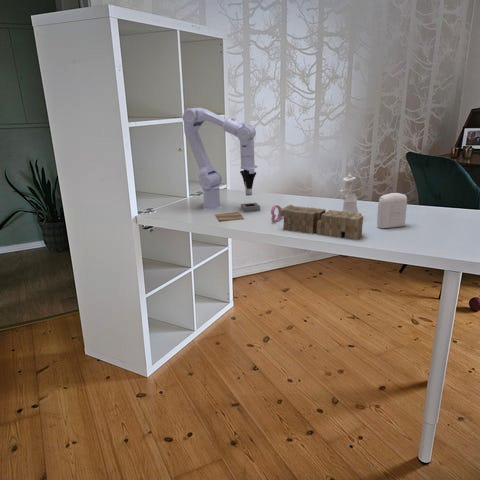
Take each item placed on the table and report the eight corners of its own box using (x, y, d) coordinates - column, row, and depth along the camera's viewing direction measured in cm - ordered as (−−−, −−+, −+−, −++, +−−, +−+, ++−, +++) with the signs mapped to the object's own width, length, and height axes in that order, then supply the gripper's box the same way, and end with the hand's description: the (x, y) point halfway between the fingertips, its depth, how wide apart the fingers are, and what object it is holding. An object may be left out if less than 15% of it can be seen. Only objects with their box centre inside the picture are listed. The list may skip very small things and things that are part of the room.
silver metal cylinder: (245, 194, 187) (244, 180, 185) (251, 193, 187) (250, 180, 185) (246, 195, 184) (245, 181, 182) (252, 195, 185) (252, 181, 183)
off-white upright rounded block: (400, 223, 161) (402, 190, 157) (406, 226, 157) (409, 193, 153) (375, 226, 159) (376, 193, 155) (381, 229, 155) (383, 195, 151)
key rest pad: (215, 216, 182) (215, 214, 181) (238, 214, 184) (238, 212, 183) (219, 222, 172) (219, 220, 172) (243, 220, 174) (243, 218, 174)
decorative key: (300, 219, 183) (272, 222, 168) (298, 218, 184) (269, 222, 169) (302, 203, 182) (274, 205, 167) (299, 203, 182) (271, 205, 168)
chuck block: (240, 209, 191) (240, 204, 190) (256, 208, 192) (256, 202, 192) (244, 213, 184) (244, 207, 184) (260, 211, 186) (260, 206, 185)
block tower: (363, 237, 152) (289, 224, 167) (366, 213, 149) (289, 203, 164) (356, 243, 146) (279, 229, 161) (358, 219, 143) (280, 207, 158)
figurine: (336, 216, 174) (338, 172, 168) (356, 215, 174) (358, 170, 168) (342, 221, 167) (344, 175, 161) (362, 220, 167) (365, 173, 162)
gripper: (261, 157, 174) (262, 190, 179) (252, 153, 188) (253, 184, 192) (244, 158, 173) (245, 191, 177) (236, 154, 187) (237, 185, 191)
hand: (248, 187), depth 185 cm, fingers closed on silver metal cylinder, 3 cm apart
